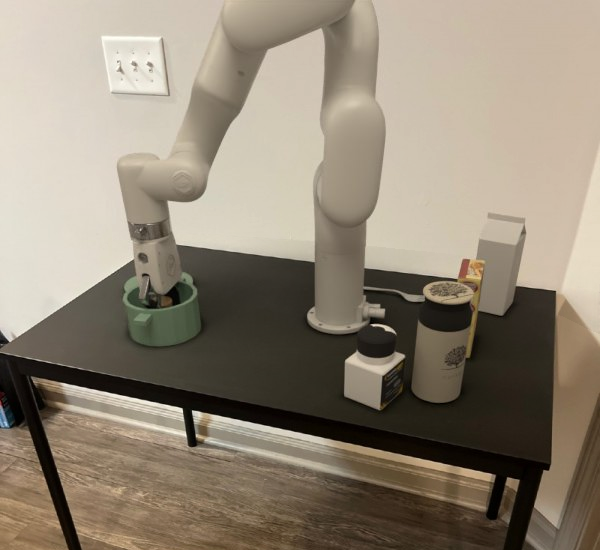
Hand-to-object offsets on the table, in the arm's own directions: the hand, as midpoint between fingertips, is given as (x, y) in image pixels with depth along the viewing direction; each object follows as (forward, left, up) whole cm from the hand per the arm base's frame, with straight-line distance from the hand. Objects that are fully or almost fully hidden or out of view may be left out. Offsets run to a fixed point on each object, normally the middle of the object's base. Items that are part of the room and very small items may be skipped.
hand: (166, 316), depth 119 cm
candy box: (-57, -4, -3) cm, 57 cm away
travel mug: (-53, +12, -3) cm, 54 cm away
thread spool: (+1, 0, -2) cm, 2 cm away
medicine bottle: (-43, +15, -3) cm, 45 cm away
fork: (-41, -24, -3) cm, 47 cm away
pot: (0, 0, -3) cm, 3 cm away
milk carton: (-63, -22, -3) cm, 66 cm away
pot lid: (+10, -18, -2) cm, 20 cm away
